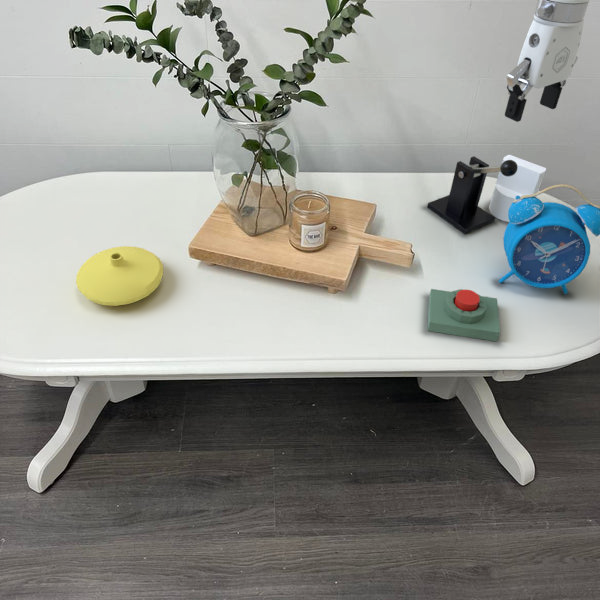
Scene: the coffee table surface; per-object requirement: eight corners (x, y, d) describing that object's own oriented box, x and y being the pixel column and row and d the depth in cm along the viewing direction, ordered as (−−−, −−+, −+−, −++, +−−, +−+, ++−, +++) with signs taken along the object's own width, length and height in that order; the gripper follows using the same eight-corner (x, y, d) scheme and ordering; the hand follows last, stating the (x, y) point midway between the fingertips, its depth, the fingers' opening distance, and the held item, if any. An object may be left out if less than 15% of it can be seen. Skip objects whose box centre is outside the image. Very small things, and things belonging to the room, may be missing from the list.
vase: (72, 316, 102) (61, 287, 97) (87, 260, 113) (79, 231, 108) (162, 312, 103) (156, 282, 98) (168, 257, 114) (163, 228, 110)
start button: (477, 298, 103) (479, 291, 101) (477, 313, 100) (480, 306, 98) (454, 295, 103) (456, 287, 102) (454, 310, 100) (456, 302, 99)
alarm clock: (489, 289, 110) (519, 201, 96) (489, 257, 117) (517, 171, 104) (581, 305, 107) (625, 216, 94) (575, 271, 114) (615, 184, 101)
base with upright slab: (536, 210, 130) (553, 163, 122) (518, 227, 125) (535, 179, 117) (500, 195, 134) (514, 149, 126) (481, 211, 129) (495, 164, 121)
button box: (494, 306, 106) (499, 291, 104) (496, 341, 100) (502, 325, 97) (428, 297, 108) (432, 281, 105) (427, 330, 101) (431, 314, 99)
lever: (522, 173, 112) (520, 157, 111) (511, 178, 111) (508, 161, 110) (472, 176, 123) (470, 162, 122) (462, 180, 122) (459, 166, 121)
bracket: (494, 221, 127) (509, 170, 118) (464, 234, 123) (478, 182, 114) (455, 196, 134) (468, 146, 125) (426, 207, 130) (437, 156, 121)
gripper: (545, 25, 86) (515, 132, 97) (612, 7, 93) (577, 109, 105) (506, 12, 91) (481, 116, 102) (573, -3, 98) (543, 95, 109)
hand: (530, 112), depth 103 cm, fingers open, 9 cm apart
